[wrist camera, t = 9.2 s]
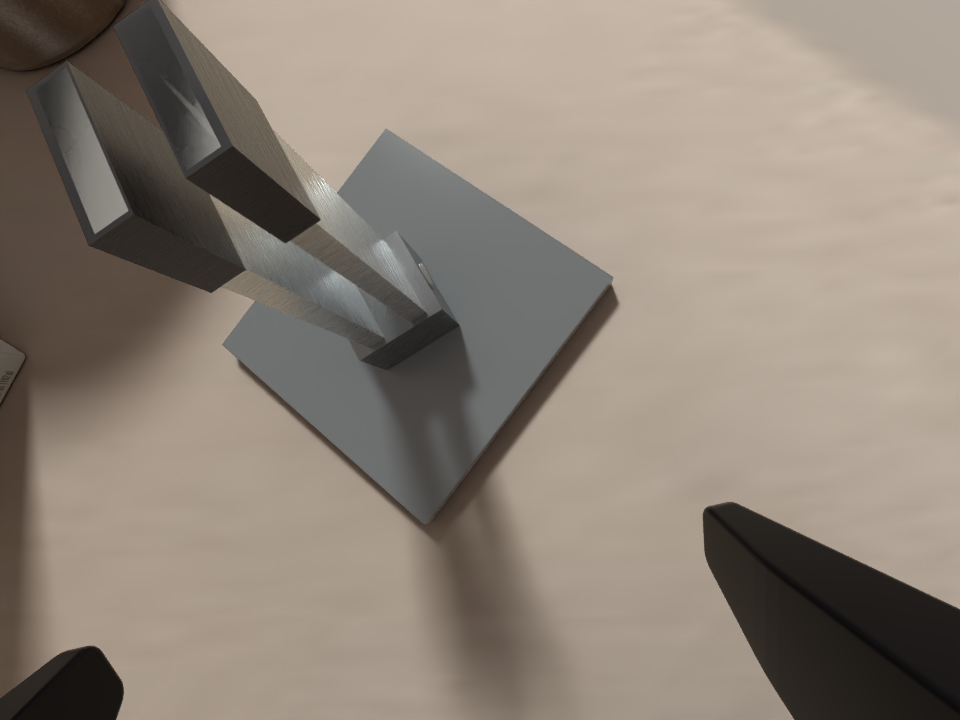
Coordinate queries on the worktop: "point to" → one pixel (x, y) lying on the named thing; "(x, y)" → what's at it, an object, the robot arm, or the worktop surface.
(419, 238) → the plate
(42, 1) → the plant pot
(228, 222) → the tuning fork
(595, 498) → the worktop surface
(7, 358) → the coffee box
